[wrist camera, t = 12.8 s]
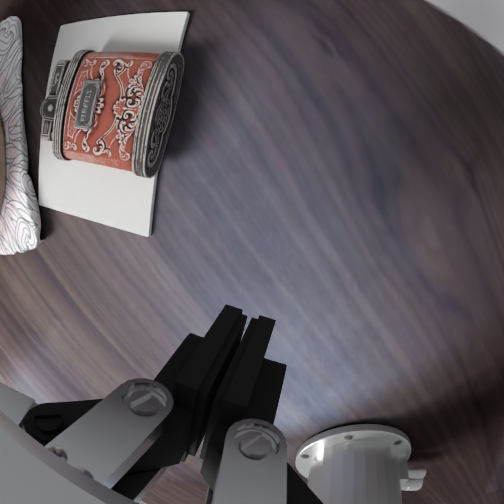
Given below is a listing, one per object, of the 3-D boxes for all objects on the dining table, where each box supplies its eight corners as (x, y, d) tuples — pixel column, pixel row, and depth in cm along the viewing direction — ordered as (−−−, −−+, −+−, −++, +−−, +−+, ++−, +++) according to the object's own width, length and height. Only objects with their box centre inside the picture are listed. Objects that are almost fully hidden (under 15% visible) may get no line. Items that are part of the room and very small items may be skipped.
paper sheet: (190, 13, 16) (187, 11, 15) (151, 235, 22) (148, 237, 22) (63, 26, 17) (60, 25, 16) (41, 203, 23) (38, 204, 23)
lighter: (138, 181, 17) (24, 157, 17) (160, 176, 20) (52, 153, 20) (171, 45, 14) (46, 47, 14) (189, 60, 17) (73, 55, 17)
